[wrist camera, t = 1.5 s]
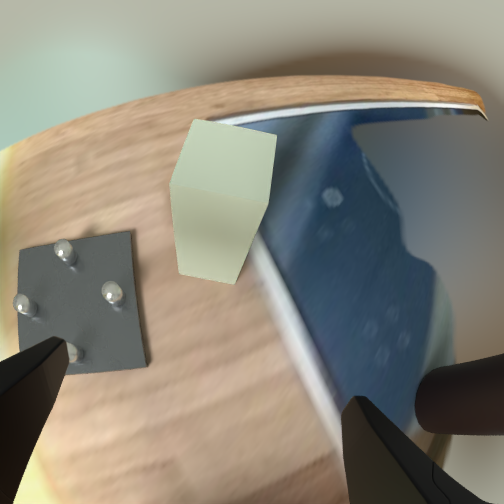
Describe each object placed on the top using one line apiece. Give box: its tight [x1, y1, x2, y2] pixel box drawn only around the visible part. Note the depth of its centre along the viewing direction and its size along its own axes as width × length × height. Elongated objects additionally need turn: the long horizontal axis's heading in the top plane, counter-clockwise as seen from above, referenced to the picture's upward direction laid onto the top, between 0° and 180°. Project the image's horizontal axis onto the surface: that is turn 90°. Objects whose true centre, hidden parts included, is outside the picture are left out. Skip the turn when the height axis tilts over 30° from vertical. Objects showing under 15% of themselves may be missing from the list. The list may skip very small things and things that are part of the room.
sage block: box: [169, 119, 277, 285], centre depth 20 cm, size 4×4×12 cm
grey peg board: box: [13, 231, 147, 375], centre depth 20 cm, size 11×11×3 cm
